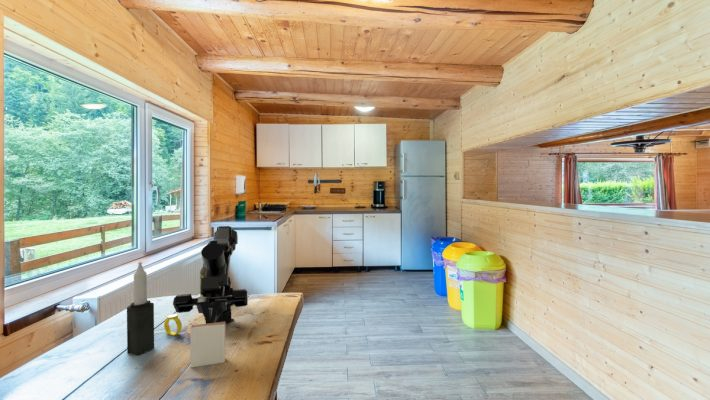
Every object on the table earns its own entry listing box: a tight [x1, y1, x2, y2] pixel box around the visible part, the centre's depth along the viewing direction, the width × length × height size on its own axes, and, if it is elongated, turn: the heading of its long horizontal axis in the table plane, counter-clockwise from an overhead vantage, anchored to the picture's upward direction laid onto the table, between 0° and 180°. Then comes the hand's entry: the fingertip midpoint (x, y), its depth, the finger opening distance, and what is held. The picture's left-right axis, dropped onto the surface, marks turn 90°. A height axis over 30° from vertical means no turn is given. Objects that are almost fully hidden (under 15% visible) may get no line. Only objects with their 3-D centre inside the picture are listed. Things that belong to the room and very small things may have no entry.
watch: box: [163, 313, 183, 337], centre depth 93 cm, size 6×3×6 cm, turn 70°
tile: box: [190, 322, 227, 368], centre depth 78 cm, size 2×8×10 cm, turn 108°
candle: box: [126, 261, 155, 356], centre depth 83 cm, size 5×5×25 cm
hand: (209, 330), depth 79 cm, fingers closed
